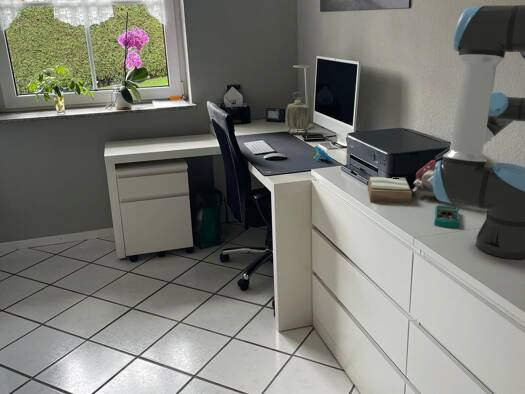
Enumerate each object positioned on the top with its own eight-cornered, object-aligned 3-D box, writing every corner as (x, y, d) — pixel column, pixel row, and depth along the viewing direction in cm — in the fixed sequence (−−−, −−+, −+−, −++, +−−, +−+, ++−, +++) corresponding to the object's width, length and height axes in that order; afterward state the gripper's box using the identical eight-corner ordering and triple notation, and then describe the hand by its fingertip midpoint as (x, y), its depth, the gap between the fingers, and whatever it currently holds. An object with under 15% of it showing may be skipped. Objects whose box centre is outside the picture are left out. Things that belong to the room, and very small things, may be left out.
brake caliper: (451, 181, 186) (449, 160, 178) (443, 204, 181) (440, 183, 173) (421, 177, 192) (417, 156, 184) (412, 199, 187) (407, 178, 179)
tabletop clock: (309, 132, 308) (310, 91, 301) (309, 135, 300) (310, 93, 292) (285, 132, 310) (286, 91, 302) (285, 135, 301) (285, 92, 293)
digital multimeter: (433, 227, 158) (434, 218, 157) (434, 212, 171) (435, 204, 170) (458, 230, 155) (459, 221, 154) (457, 214, 169) (458, 206, 168)
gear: (335, 159, 234) (320, 145, 231) (326, 169, 234) (312, 154, 231) (327, 157, 245) (312, 143, 242) (318, 166, 245) (304, 152, 242)
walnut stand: (410, 204, 178) (412, 190, 176) (370, 202, 180) (371, 188, 178) (404, 189, 195) (405, 177, 193) (367, 187, 197) (368, 175, 195)
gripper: (495, 151, 167) (442, 195, 173) (472, 139, 189) (425, 178, 195) (481, 135, 166) (427, 180, 172) (459, 124, 188) (412, 164, 193)
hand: (426, 179), depth 183 cm, fingers closed on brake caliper, 10 cm apart
